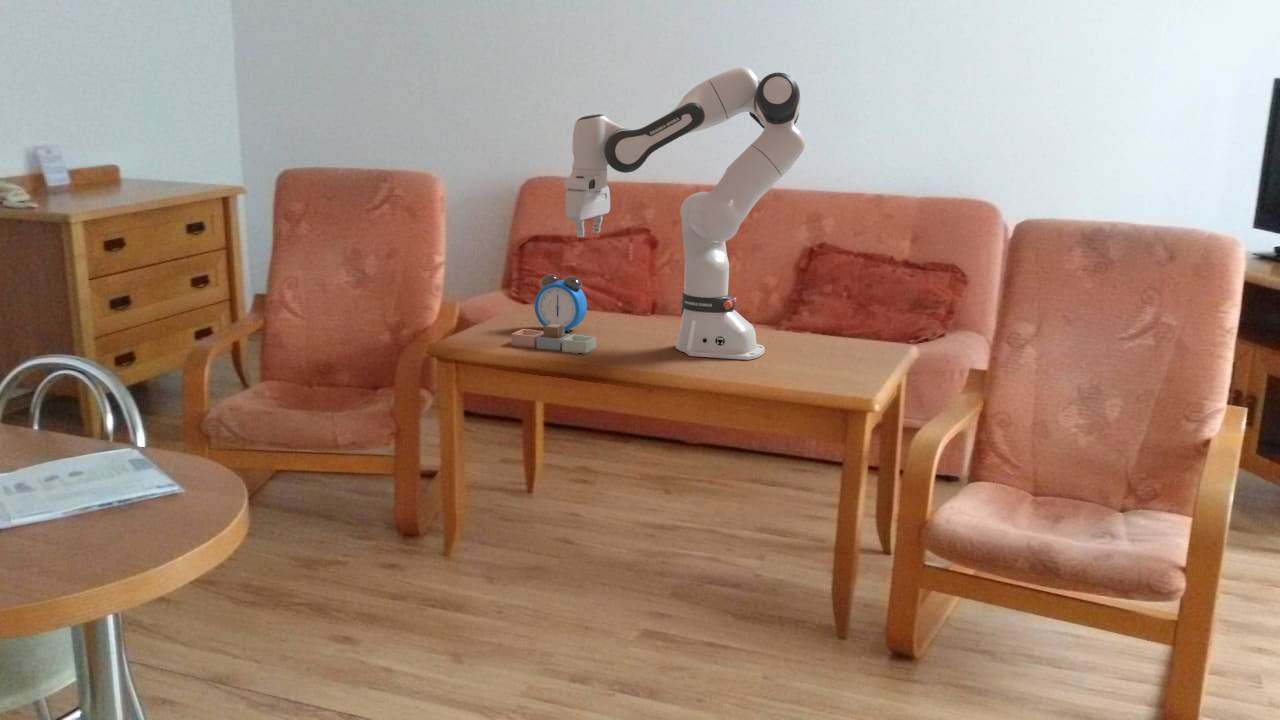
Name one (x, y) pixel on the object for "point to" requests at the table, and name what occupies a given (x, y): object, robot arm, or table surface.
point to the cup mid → (550, 343)
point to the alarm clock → (560, 302)
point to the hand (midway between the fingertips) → (588, 234)
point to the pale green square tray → (578, 344)
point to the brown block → (554, 331)
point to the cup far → (526, 338)
